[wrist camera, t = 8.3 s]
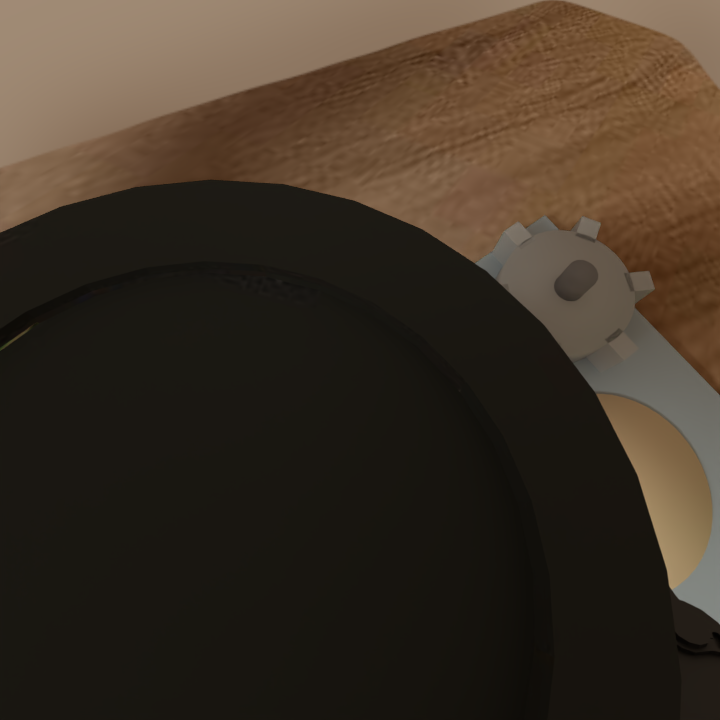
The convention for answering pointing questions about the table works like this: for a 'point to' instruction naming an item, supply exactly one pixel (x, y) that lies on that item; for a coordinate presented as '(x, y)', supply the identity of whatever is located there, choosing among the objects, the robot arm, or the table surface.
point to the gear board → (630, 386)
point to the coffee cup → (305, 478)
